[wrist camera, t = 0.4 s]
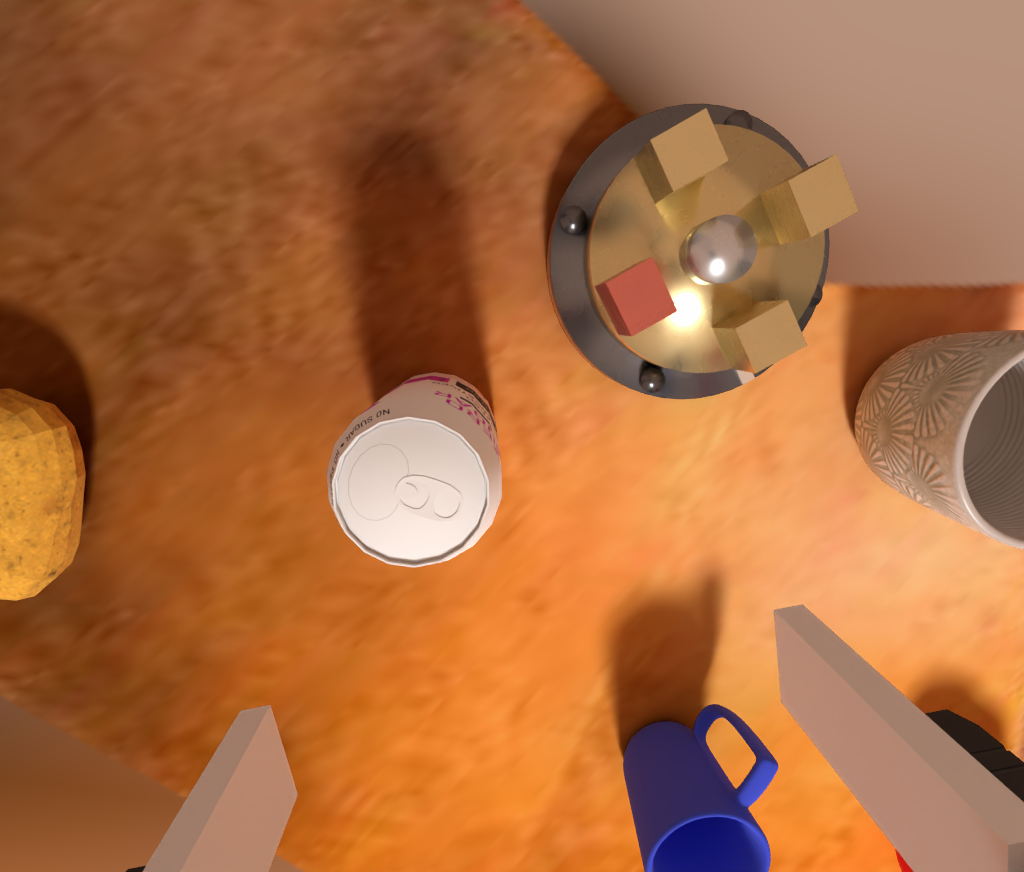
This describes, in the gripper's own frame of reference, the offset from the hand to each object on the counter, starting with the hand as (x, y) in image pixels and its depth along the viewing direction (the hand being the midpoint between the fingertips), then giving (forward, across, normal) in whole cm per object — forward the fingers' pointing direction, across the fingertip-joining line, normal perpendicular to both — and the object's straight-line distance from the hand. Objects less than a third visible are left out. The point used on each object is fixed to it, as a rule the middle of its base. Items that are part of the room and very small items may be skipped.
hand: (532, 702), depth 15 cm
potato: (+27, -31, +4) cm, 41 cm away
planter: (+27, +31, -2) cm, 41 cm away
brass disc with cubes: (+24, +14, +11) cm, 30 cm away
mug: (+26, +10, -25) cm, 38 cm away
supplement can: (+27, -4, +3) cm, 27 cm away
